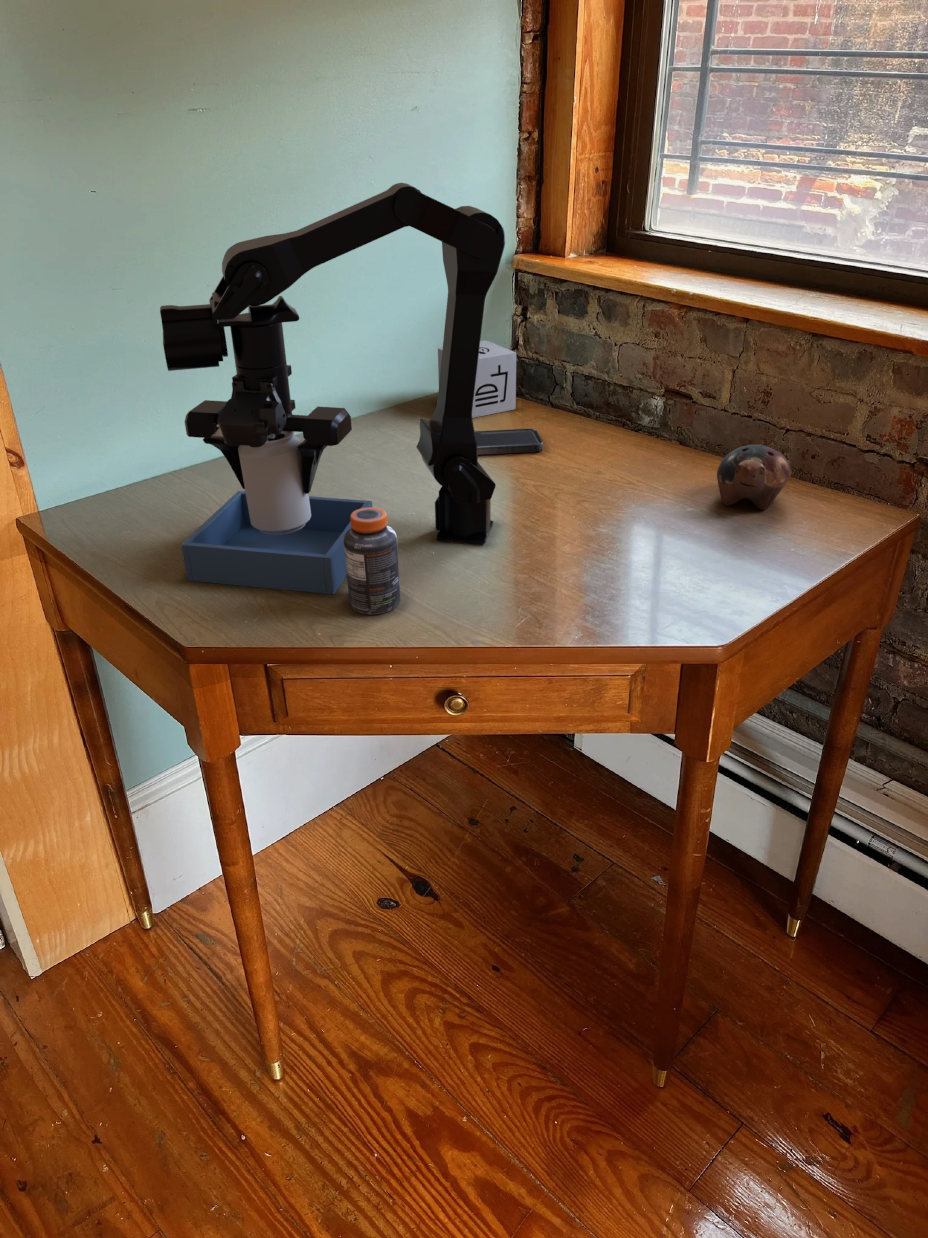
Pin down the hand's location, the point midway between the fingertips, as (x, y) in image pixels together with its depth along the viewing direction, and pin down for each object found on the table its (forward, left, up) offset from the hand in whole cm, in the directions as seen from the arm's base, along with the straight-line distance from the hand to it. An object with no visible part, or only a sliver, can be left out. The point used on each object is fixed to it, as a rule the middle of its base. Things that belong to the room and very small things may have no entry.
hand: (276, 490), depth 116 cm
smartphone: (-19, -44, -8) cm, 48 cm away
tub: (0, 0, -9) cm, 9 cm away
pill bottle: (-15, +9, -9) cm, 20 cm away
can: (0, 0, -5) cm, 5 cm away
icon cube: (-12, -63, -9) cm, 65 cm away
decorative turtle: (-58, -29, -9) cm, 66 cm away
